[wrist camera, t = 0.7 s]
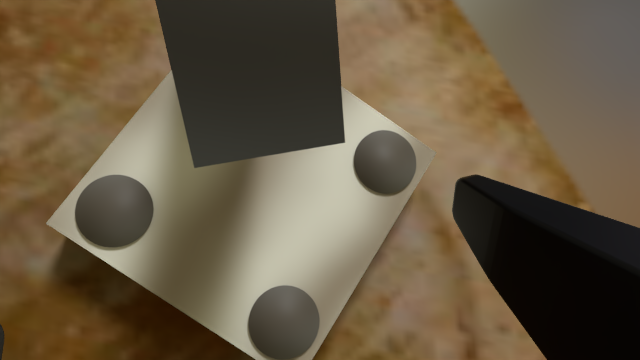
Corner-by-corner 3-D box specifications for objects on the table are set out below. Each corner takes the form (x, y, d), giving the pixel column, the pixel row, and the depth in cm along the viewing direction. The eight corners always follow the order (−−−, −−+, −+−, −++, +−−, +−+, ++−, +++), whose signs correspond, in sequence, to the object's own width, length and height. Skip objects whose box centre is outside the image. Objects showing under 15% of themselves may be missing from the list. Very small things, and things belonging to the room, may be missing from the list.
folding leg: (271, 70, 21) (345, 142, 9) (202, 80, 20) (193, 168, 9) (262, -3, 19) (333, -21, 8) (187, 4, 19) (153, -5, 7)
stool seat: (417, 162, 23) (437, 151, 21) (291, 369, 21) (296, 387, 18) (227, 30, 23) (224, 3, 20) (70, 225, 20) (44, 223, 17)
